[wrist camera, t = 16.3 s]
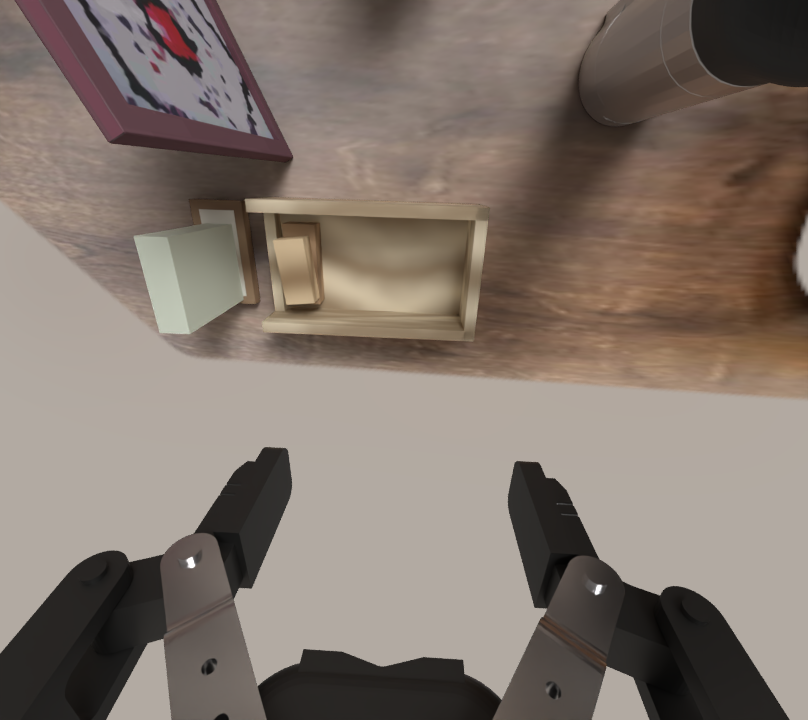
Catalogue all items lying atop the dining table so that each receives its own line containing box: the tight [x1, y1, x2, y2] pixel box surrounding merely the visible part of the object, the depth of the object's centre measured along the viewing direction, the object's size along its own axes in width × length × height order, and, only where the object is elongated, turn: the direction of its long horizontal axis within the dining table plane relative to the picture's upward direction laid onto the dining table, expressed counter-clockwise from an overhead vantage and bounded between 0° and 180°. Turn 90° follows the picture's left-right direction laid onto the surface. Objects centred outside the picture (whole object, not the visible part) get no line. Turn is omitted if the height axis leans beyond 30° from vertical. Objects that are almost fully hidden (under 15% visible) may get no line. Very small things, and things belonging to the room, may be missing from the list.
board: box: [189, 199, 260, 304], centre depth 45 cm, size 12×6×2 cm, turn 178°
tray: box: [245, 197, 490, 342], centre depth 42 cm, size 14×24×7 cm, turn 88°
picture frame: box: [15, 0, 293, 162], centre depth 28 cm, size 17×10×25 cm, turn 24°
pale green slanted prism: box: [134, 223, 244, 334], centre depth 40 cm, size 9×3×12 cm, turn 179°
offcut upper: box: [273, 236, 320, 305], centre depth 42 cm, size 7×3×2 cm, turn 4°
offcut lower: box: [282, 222, 325, 304], centre depth 44 cm, size 9×4×2 cm, turn 178°
